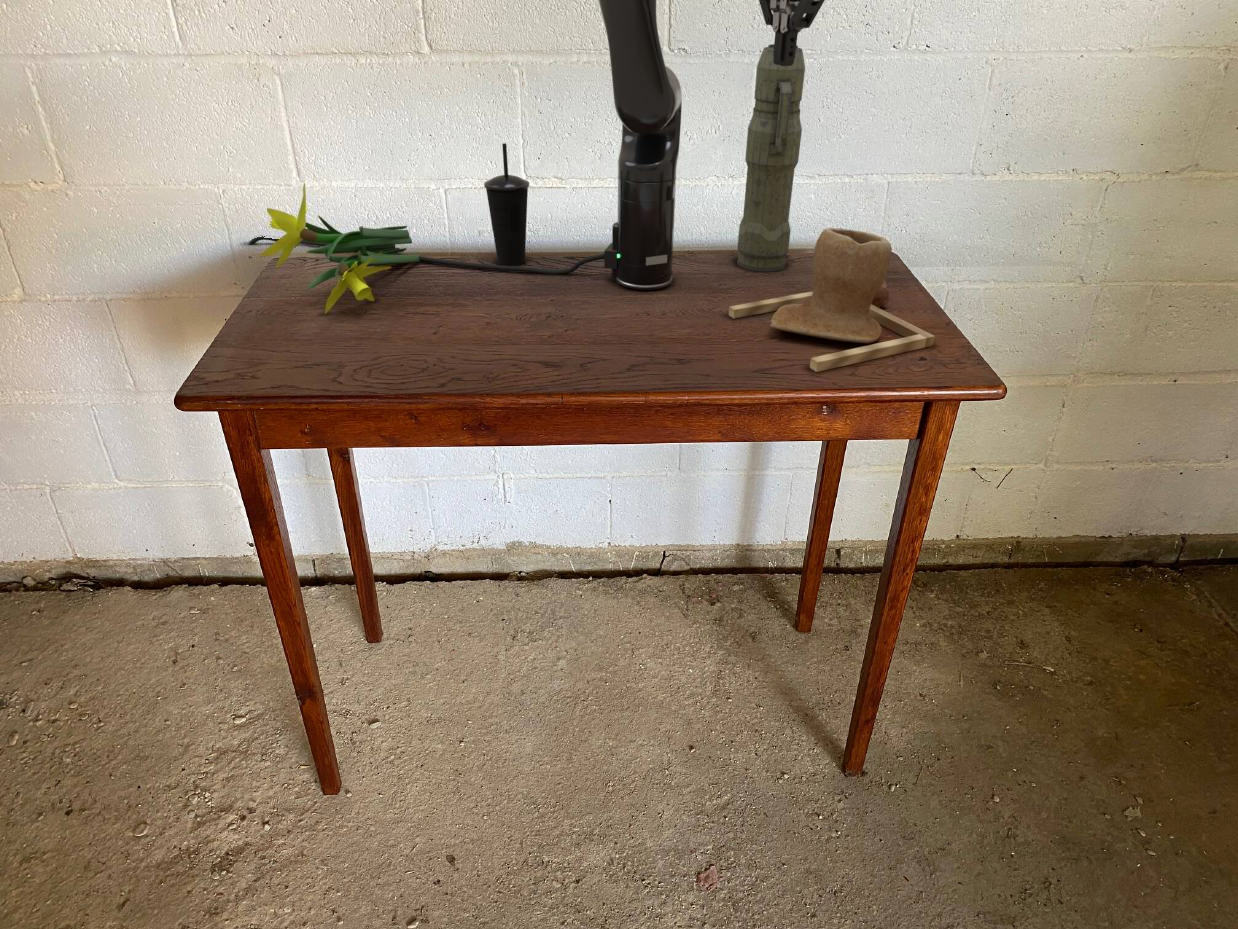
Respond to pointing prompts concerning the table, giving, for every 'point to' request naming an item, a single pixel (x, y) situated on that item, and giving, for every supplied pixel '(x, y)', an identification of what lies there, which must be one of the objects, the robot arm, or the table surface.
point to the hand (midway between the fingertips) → (783, 65)
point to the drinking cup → (508, 214)
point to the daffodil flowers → (341, 250)
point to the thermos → (771, 163)
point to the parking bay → (911, 341)
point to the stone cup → (840, 288)
